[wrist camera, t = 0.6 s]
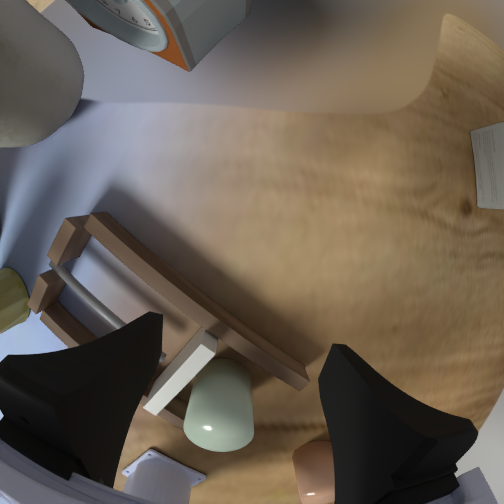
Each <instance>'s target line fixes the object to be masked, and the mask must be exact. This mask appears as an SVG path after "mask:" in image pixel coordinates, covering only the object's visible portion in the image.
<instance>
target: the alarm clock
mask: <svg viewBox="0 0 504 504" xmlns="http://www.w3.org/2000/svg"><path fill="white" fill-rule="evenodd" d="M66 1H67V2H68V3H69V4H70V5H71V6H72V7H73V8H74V9H75V10H76V11H77V12H78V13H79V14H80V15H81V16H82V17H83V18H84V19H85V20H86V21H87V22H88V23H89V24H90V26H92V27H93V28H96V29H99V30H101V31H104V32H106V33H109V34H111V35H113V36H115V37H117V38H118V39H120V40H122V41H124V42H126V43H128V44H130V45H133V46H135V47H138V48H140V49H143V50H147V51H149V52H151V53H154V54H156V55H158V56H160V57H162V58H163V59H165V60H167V61H170V62H171V63H173V64H176V65H177V66H179V67H181V68H183V69H184V70H186V71H192V69H193V68H194V67H195V66H196V65H197V64H198V63H199V62H200V61H201V60H202V59H203V58H204V56H205V55H207V54H208V52H210V51H211V50H212V48H214V47H215V46H216V44H218V43H219V42H220V40H222V39H223V38H224V37H225V36H226V35H227V34H228V33H229V32H230V31H231V30H232V29H233V28H235V27H236V26H237V25H238V24H239V23H240V22H241V21H242V20H244V19H245V18H246V17H247V16H248V15H249V14H250V12H251V0H66Z"/></svg>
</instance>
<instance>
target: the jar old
mask: <svg viewBox="0 0 504 504" xmlns="http://www.w3.org/2000/svg"><path fill="white" fill-rule="evenodd" d="M183 427H184V432H185V434H186V436H187V437H188V438H189V440H191V441H192V442H193V443H194V444H196V445H197V446H199V447H202V448H204V449H207V450H211V451H217V452H228V451H234V450H238V449H240V448H242V447H244V446H246V445H247V444H248V443H249V442H250V441H251V440H252V438H253V436H254V418H253V401H252V382H251V376H250V373H249V372H248V370H247V369H246V368H245V367H244V366H243V365H242V364H240V363H238V362H236V361H234V360H231V359H225V358H218V359H212V360H209V362H208V363H207V364H206V365H205V366H204V367H203V368H202V369H201V370H200V371H199V372H198V373H197V374H196V375H195V379H194V383H193V388H192V392H191V396H190V400H189V404H188V408H187V412H186V416H185V420H184V426H183Z"/></svg>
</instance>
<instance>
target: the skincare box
mask: <svg viewBox="0 0 504 504" xmlns="http://www.w3.org/2000/svg"><path fill="white" fill-rule="evenodd" d="M470 134H471V140H472V147H473V154H474V163H475V172H476V185H477V206H478V207H479V208H489V209H504V122H500V123H497V124H493V125H490V126H486V127H483V128H479V129H476V130H472V131H470Z"/></svg>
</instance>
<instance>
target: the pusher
mask: <svg viewBox="0 0 504 504" xmlns="http://www.w3.org/2000/svg"><path fill="white" fill-rule="evenodd" d="M49 265H50V267H51V268H52V269H53V270H54V271H55V272H56V273H57V274H58V275H59V276H60V277H61V278H62V279H63V280H64V281H65V282H66V283H67V284H68V285H69V286H70V287H71V288H72V289H73V290H74V291H75V292H76V293H77V294H78V295H79V296H80V297H82V298H83V299H84V300H85V301H86V302H87V303H88V304H89V305H90V306H91V307H92V308H94V309H95V310H96V311H97V312H98V313H99V314H100V315H101V316H103V317H104V318H105V319H106V320H107V321H108V322H110V323H111V324H112V325H113V326H114V327H116V328H117V329H119V328H121V327H123V326H125V325H127V324H126V323H125V322H124V321H122V320H121V319H120V318H119V317H118V316H116V315H115V314H114V313H113V312H112V311H111V310H109V309H108V308H107V307H106V306H105V305H104V304H102V303H101V302H100V301H99V300H98V299H97V298H96V297H95V296H94V295H92V294H91V293H90V292H89V291H88V290H87V289H86V288H85V287H84V286H83V285H82V284H81V283H80V282H79V281H78V280H77V279H75V278H74V277H73V276H72V275H71V274H70V273H69V272H68V271H67V270H66V269H65V268H64V267H63V266H62V265H61V264H60V265H57V266H56V265H55V264H54V263H53V262H52V261H50V263H49ZM217 343H218V338H217V337H216V336H215V335H213V334H212V333H210V332H209V331H208V330H206V329H205V328H203V327H201V328H200V330H199V331H198V332H197V333H196V334H195V335H194V337H193V338H192V339H191V340H190V341H189V342H188V344H187V345H186V346H185V347H184V348H183V349H182V350H181V352H180V353H179V354H178V355H177V356H176V357H175V359H174V360H173V361H172V362H171V363H170V364H169V365H168V367H167V368H166V369H165V370H164V371H163V372H162V373H161V375H160V376H159V377H158V378H157V379H156V380H155V382H154V384H153V386H152V389H151V391H150V393H149V395H148V398H147V400H146V402H145V404H144V407H143V408H144V409H146V410H147V411H149V412H150V413H152V414H154V415H155V416H156V415H157V414H158V413H159V412H160V411H161V410H162V409H163V408H164V407H165V406H166V405H167V404H168V403H169V402H170V401H171V400H172V399H173V398H174V397H175V396H176V395H177V394H178V393H179V392H180V391H181V390H182V389H183V388H184V386H185V385H186V384H187V383H188V382H189V381H190V380H191V379H192V378H193V377H194V376H195V375H196V374H197V373H198V372H199V371H200V370H201V369H202V368H203V367H204V366H205V365H206V364H207V363H208V362H209V360H210V359H211V358H212V357H213V356H214V355H215V354H216V349H217ZM165 357H166V354H165V353H164V352H162V354H161V357H160V360H159V361H160V362H162V361H163V360H164V358H165Z"/></svg>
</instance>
